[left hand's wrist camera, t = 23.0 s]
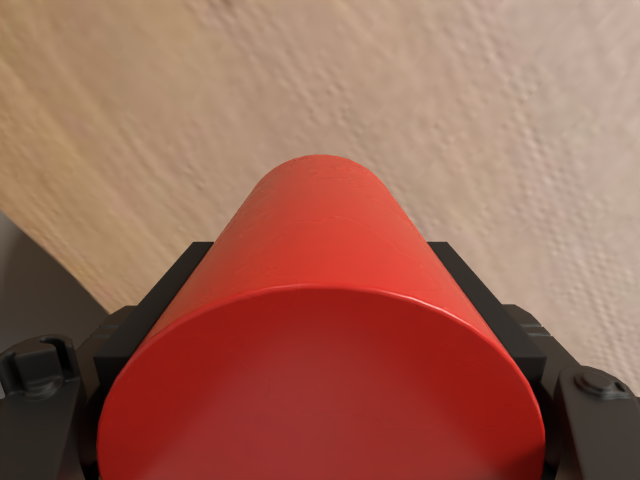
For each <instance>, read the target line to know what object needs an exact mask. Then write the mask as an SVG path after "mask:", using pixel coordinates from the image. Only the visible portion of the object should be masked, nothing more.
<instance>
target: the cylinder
mask: <svg viewBox="0 0 640 480" xmlns="http://www.w3.org/2000/svg"><path fill="white" fill-rule="evenodd" d="M96 453H97V464H98V471H99V474H100V478H101V480H541V478H542V475H543V470H544V462H545V454H546V446H545V429H544V424H543V420H542V416H541V412H540V408H539V404H538V402H537V399H536V397H535V395H534V393H533V391H532V388H531V386H530V384H529V382H528V380H527V379H526V378H525V376H524V375H523V373H522V372H521V370H520V369H519V367H518V366H517V364H516V363H515V362H514V360H513V359H512V357H511V356H510V355H509V353H508V352H507V351H506V349H505V348H504V347H503V345H502V344H501V342H500V341H499V340H498V338H497V337H496V336H495V334H494V333H493V332H492V330H491V329H490V328H489V326H488V325H487V323H486V322H485V321H484V319H483V318H482V317H481V315H480V314H479V313H478V311H477V310H476V309H475V307H474V306H473V304H472V303H471V302H470V300H469V299H468V298H467V296H466V295H465V294H464V292H463V291H462V290H461V288H460V287H459V285H458V284H457V283H456V281H455V280H454V279H453V277H452V276H451V275H450V273H449V272H448V271H447V269H446V268H445V267H444V265H443V264H442V262H441V261H440V260H439V258H438V257H437V256H436V254H435V253H434V252H433V250H432V249H431V248H430V246H429V245H428V243H427V242H426V241H425V239H424V238H423V237H422V235H421V234H420V233H419V231H418V230H417V229H416V227H415V226H414V224H413V223H412V222H411V220H410V219H409V218H408V216H407V215H406V214H405V212H404V211H403V210H402V208H401V207H400V205H399V204H398V203H397V201H396V200H395V199H394V197H393V196H392V195H391V193H390V192H389V191H388V189H387V188H386V186H385V185H384V184H383V183H382V182H381V181H380V180H379V178H378V177H377V176H375V175H374V174H373V173H372V172H371V171H369V170H368V169H366V168H365V167H363V166H362V165H360V164H358V163H356V162H353V161H351V160H349V159H345V158H342V157H338V156H332V155H309V156H303V157H299V158H295V159H292V160H290V161H287V162H285V163H283V164H281V165H279V166H278V167H276V168H274V169H273V170H271V171H270V172H269V173H268V174H266V175H265V176H264V177H263V178H262V179H261V180H260V181H259V182H258V184H257V185H256V186H255V188H254V189H253V190H252V192H251V193H250V194H249V196H248V197H247V199H246V200H245V201H244V203H243V204H242V205H241V207H240V208H239V210H238V211H237V212H236V214H235V215H234V216H233V218H232V219H231V221H230V222H229V223H228V225H227V226H226V227H225V229H224V230H223V232H222V233H221V234H220V236H219V237H218V238H217V240H216V241H215V243H214V244H213V245H212V247H211V248H210V249H209V251H208V252H207V253H206V255H205V256H204V258H203V259H202V260H201V262H200V263H199V264H198V266H197V267H196V269H195V270H194V271H193V273H192V274H191V275H190V277H189V278H188V280H187V281H186V282H185V284H184V285H183V286H182V288H181V289H180V291H179V292H178V293H177V295H176V296H175V297H174V299H173V300H172V302H171V303H170V304H169V306H168V307H167V308H166V310H165V311H164V313H163V314H162V315H161V317H160V318H159V319H158V321H157V322H156V324H155V325H154V326H153V328H152V329H151V330H150V332H149V333H148V334H147V336H146V337H145V339H144V340H143V341H142V343H141V344H140V345H139V347H138V348H137V350H136V351H135V352H134V354H133V355H132V356H131V358H130V359H129V361H128V362H127V363H126V365H125V366H124V367H123V369H122V370H121V372H120V373H119V374H118V376H117V377H116V379H115V381H114V383H113V385H112V387H111V389H110V391H109V393H108V395H107V397H106V399H105V401H104V405H103V408H102V412H101V415H100V419H99V423H98V432H97V442H96Z"/></svg>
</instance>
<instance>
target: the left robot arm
mask: <svg viewBox="0 0 640 480" xmlns="http://www.w3.org/2000/svg"><path fill="white" fill-rule="evenodd" d="M427 243H428V245H429V246H430V248H431V249H432V250H433V252H434V253H435V254H436V256H437V257H438V258H439V260H440V261H441V262H442V264H443V265H444V267H445V268H446V269H447V271H448V272H449V273H450V275H451V276H452V277H453V279H454V280H455V281H456V283H457V284H458V285H459V287H460V288H461V290H462V291H463V292H464V294H465V295H466V296H467V298H468V299H469V300H470V302H471V303H472V304H473V306H474V307H475V309H476V310H477V311H478V313H479V314H480V315H481V317H482V318H483V319H484V321H485V322H486V323H487V325H488V326H489V328H490V329H491V330H492V332H493V333H494V334H495V336H496V337H497V338H498V340H499V341H500V342H501V344H502V345H503V347H504V348H505V349H506V351H507V352H508V353H509V355H510V356H511V357H512V359H513V360H514V362H515V363H516V364H517V366H518V367H519V369H520V370H521V372H522V373H523V375H524V376H525V378H526V379H527V380H528V382H529V384H530V386H531V388H532V391H533V393H534V395H535V397H536V399H537V402H538V404H539V408H540V412H541V416H542V420H543V424H544V429H545V446H546V454H545V462H544V470H543V475H542V478H541V480H640V397H636V396H635V395H634V394H633V392H632V391H631V390H630V389H629V387H628V386H627V385H625V384H624V383H623V382H621V381H620V380H619V379H617V378H616V377H614V376H612V375H610V374H608V373H606V372H604V371H602V370H599V369H595V368H592V367H589V366H582V365H580V364H579V363H578V362H577V361H576V360H575V359H574V358H573V357H572V356H571V355H570V354H569V353H568V352H567V351H566V350H565V349H564V348H563V347H562V346H561V345H560V343H559V342H558V341H557V340H556V339H555V338H554V337H553V336H550V333H549V332H548V331H547V330H546V329H545V328H544V327H541V324H540V323H539V322H538V321H537V320H536V319H535V318H534V317H533V316H532V315H531V314H530V313H528V312H527V311H525V310H523V309H521V308H520V307H518V306H516V305H515V304H501V303H500V302H499V301H498V299H497V298H496V297H495V296H494V295H493V294H492V293H491V292H490V290H489V289H488V288H487V287H486V286H485V285H484V284H483V282H482V281H481V280H480V279H479V278H478V277H477V276H476V274H475V273H474V272H473V271H472V270H471V269H470V268H469V266H468V265H467V264H466V263H465V262H464V261H463V260H462V258H461V257H460V256H459V255H458V254H457V253H456V252H455V251H454V249H453V248H452V247H451V246H450V245H449V244H448V243H447V242H427ZM213 244H214V242H193V243H192V244H191V245H190V246H189V247H188V249H187V250H186V251H185V252H184V253H183V254H182V255H181V256H180V258H179V259H178V260H177V261H176V262H175V263H174V264H173V266H172V267H171V268H170V269H169V270H168V271H167V272H166V274H165V275H164V276H163V277H162V278H161V279H160V280H159V282H158V283H157V284H156V285H155V286H154V287H153V288H152V290H151V291H150V292H149V293H148V294H147V295H146V296H145V297H144V299H143V300H142V301H141V302H140V303H139V304H138V305H137V306H125V307H123V308H121V309H119V310H118V311H116V312H114V313H113V314H111V315H109V317H108V318H107V319H106V320H105V321H104V322H103V323H102V324H101V325H100V326H99V328H97V329H96V330H95V331H94V332H93V333H92V334H91V336H90V338H87V339H86V340H85V341H84V342H83V343H82V344H81V346H80V347H79V348H78V349H77V350H76V351H75V349H74V346H73V342H72V339H71V338H69V337H68V336H66V335H60V334H50V335H42V336H38V337H34V338H31V339H27V340H25V341H22V342H20V343H18V344H16V345H13V346H12V347H10V348H8V349H7V350H5V351H4V352H2V353H1V354H0V382H1V385H2V387H3V390H4V393H5V395H6V396H5V398H3V399H0V480H101V478H100V474H99V471H98V464H97V453H96V442H97V432H98V423H99V419H100V415H101V412H102V408H103V405H104V401H105V399H106V397H107V395H108V393H109V391H110V389H111V387H112V385H113V383H114V381H115V379H116V377H117V376H118V374H119V373H120V372H121V370H122V369H123V367H124V366H125V365H126V363H127V362H128V361H129V359H130V358H131V356H132V355H133V354H134V352H135V351H136V350H137V348H138V347H139V345H140V344H141V343H142V341H143V340H144V339H145V337H146V336H147V334H148V333H149V332H150V330H151V329H152V328H153V326H154V325H155V324H156V322H157V321H158V319H159V318H160V317H161V315H162V314H163V313H164V311H165V310H166V308H167V307H168V306H169V304H170V303H171V302H172V300H173V299H174V297H175V296H176V295H177V293H178V292H179V291H180V289H181V288H182V286H183V285H184V284H185V282H186V281H187V280H188V278H189V277H190V275H191V274H192V273H193V271H194V270H195V269H196V267H197V266H198V264H199V263H200V262H201V260H202V259H203V258H204V256H205V255H206V253H207V252H208V251H209V249H210V248H211V247H212V245H213Z"/></svg>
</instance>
